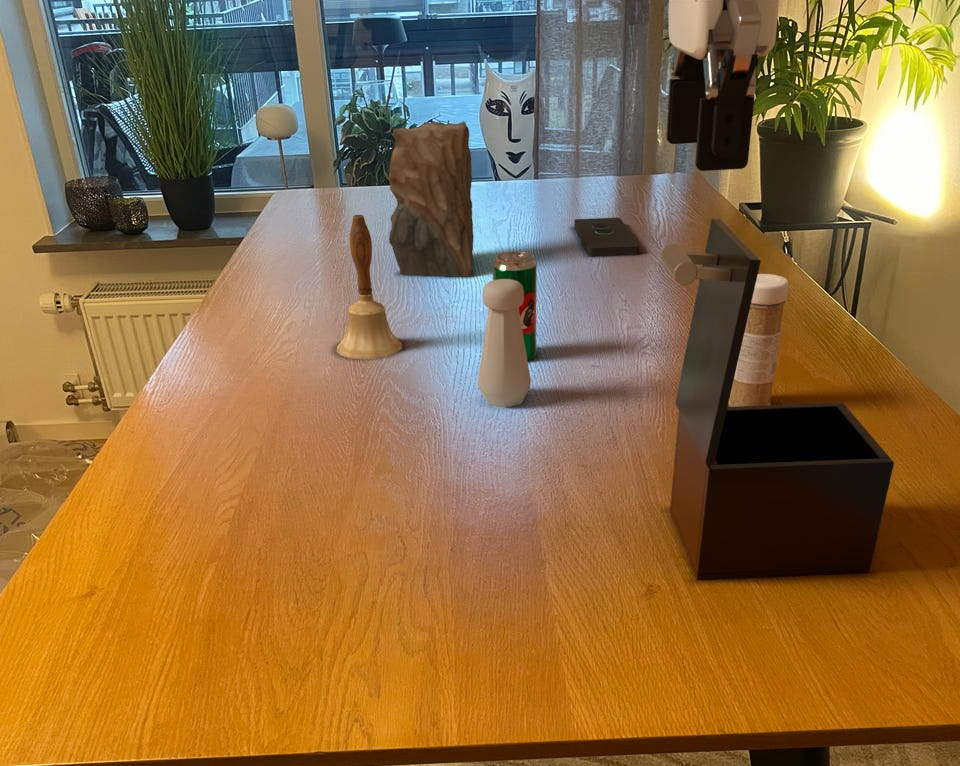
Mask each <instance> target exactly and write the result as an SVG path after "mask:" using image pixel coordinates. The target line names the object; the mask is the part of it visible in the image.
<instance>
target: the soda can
mask: <svg viewBox="0 0 960 766" xmlns="http://www.w3.org/2000/svg"><path fill="white" fill-rule="evenodd" d="M537 278H538V277H537V264H536V261H535V260H534V255H533V253H531V252H527V251H519V250H518V251H517V250H515V251H514V250H513V251H511V250H510V251H504V252H500V253H498V254H496V255H495V261H494V263H493V265H492V281H493V280H498V279H511V280H516V281H518V282H520V283H521V285H522V286H523V291H524V301H523V304H522V305H521V306H519V307H518V308H519V314H520V320H521V326H522V331H523V337H524V343H525V349H526V355H527V361H530V360H533V359H534V358H535V356H536V355H537V283H538V282H537Z"/></svg>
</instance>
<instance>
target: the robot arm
mask: <svg viewBox="0 0 960 766" xmlns="http://www.w3.org/2000/svg"><path fill="white" fill-rule="evenodd" d="M779 2H780V0H668V38H669V42H670V44H671V45H672V46H673V47H674V49H673V54H672V59H671V65H670V76H671V78H669V84H668V99H667V100H668V102H667V103H668V104H667V118H666V119H667V120H666V134H665V135H666V137H665V138H666V141H667V143H669V144H671V145H682V144H696V149H695V161H694V163H695V164H694V165H695V167H696V169H697V170H699V171H700V172H709V171H729V170H742V169H745V168H746V167H747V165H748V163H749V156H750V146H751V137H752V128H753V127H752V125H753V116H754V106H755V99H756V98H755V95H756V91H757V90H756V89H757V75H756V67H758V65H759V59H760V57H765V56H767V55H768V54H769V53H770V52H771V51H772V50H773V49H774V46H775V45H776V41H777V40H776V39H777V31H778V16H779V5H780V3H779ZM718 63H720V67H719V65H718Z"/></svg>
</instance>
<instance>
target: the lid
mask: <svg viewBox="0 0 960 766" xmlns="http://www.w3.org/2000/svg"><path fill="white" fill-rule="evenodd" d="M660 258H661V261H662V263H663V264H664V267H666V269H667V270H668V272H669V273H670V275H671V277H672V278H673V279H674V281H675V282H676V283H677V285H679V286H689V285H691V284H692V283H694V282H695V280H699V281H698V286H697V291H696V296H695V300H694V301H695V302H694V306H693V312H692V317H691V322H690V325H689V326H690V327H689V331H688V337H687V342H686V347H685V352H684V357H683V363H682V368H681V372H680V377H679V382H678V388H677V393H676V398H675V406H676V408H677V410H678V413H679V412H680V414H681V416H682V418H683V420H684V422H685V424H686V426H687V428H688V430H689V432H690V434H691V436H692V438H693V440H694V442H695V444H696V446H697V448H698V450H699V452H700V454H701V456H702V458H703V460H704V462H705V464H715V460H716V455H717V451H718V446H719V442H720V438H721V433H722V429H723V425H724V420H725V416H726V411H727V407H729V405H728V403H729V398H730V394H731V389H732V385H733V381H734V376H735V372H736V368H737V363H738V359H739V354H740V350H741V346H742V341H743V337H744V332H745V328H746V324H747V319H748V315H749V311H750V306H751V302H752V297H753V293H754V289H755V284H756V280H757V275H758V274H759V271H760V265H761V262H762V261H761V259H760V258H759V257H758V256H757V255H756V254H755V253H754V252H753V250H751V249H750V248H749V246H747V245H746V244H745V243H744V242H743V240H742V239H740V238H739V236H737V234H735V233H734V231H732V229H731V228H729V226H728V225H727V224H726V223H725V222H724V221H723V220H722V219H720V218H711V219H710V225H709V230H708V235H707V240H706V245H705V251H704V252H701V251H699V252H698V251H686V250H684V249H683V247H682V246H681V245H680V244H678V243H670V244H667V245H665V247H664V248H663V249H662V252H661V254H660ZM698 265H699V266H698ZM700 265H701V266H700Z"/></svg>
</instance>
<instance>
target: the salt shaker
mask: <svg viewBox="0 0 960 766" xmlns="http://www.w3.org/2000/svg"><path fill="white" fill-rule="evenodd" d="M523 301H524V291H523V286H522V285H521V283H520V282H518V281H516V280H511V279H498V280H493V279H492V280H490V281H488V282H487V283H485V284H484V286H483V289H482V303H483V305H484V306H485V307H487V308H488V310H487V315H486V316H487V317H486V324H485V331H484V337H483V344H482V350H481V356H480V363H479V370H478V376H477V386H478V390H479V391H480V393H481V395H482V396H483V398H484V400H485V401H486V403H487V404H488V406H491V407H498V408H503V409H507V408H511V407H516V406H520V405H522V403H523V402H524V400H525V398H526V396H527V394H528V392H529V390H530V389H531V383H532V382H531V374H530V367H529V362H528V361H527V355H526V349H525V343H524V337H523V331H522V326H521V320H520V314H519V308H518V307H519V306H521V305H522V304H523Z"/></svg>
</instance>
